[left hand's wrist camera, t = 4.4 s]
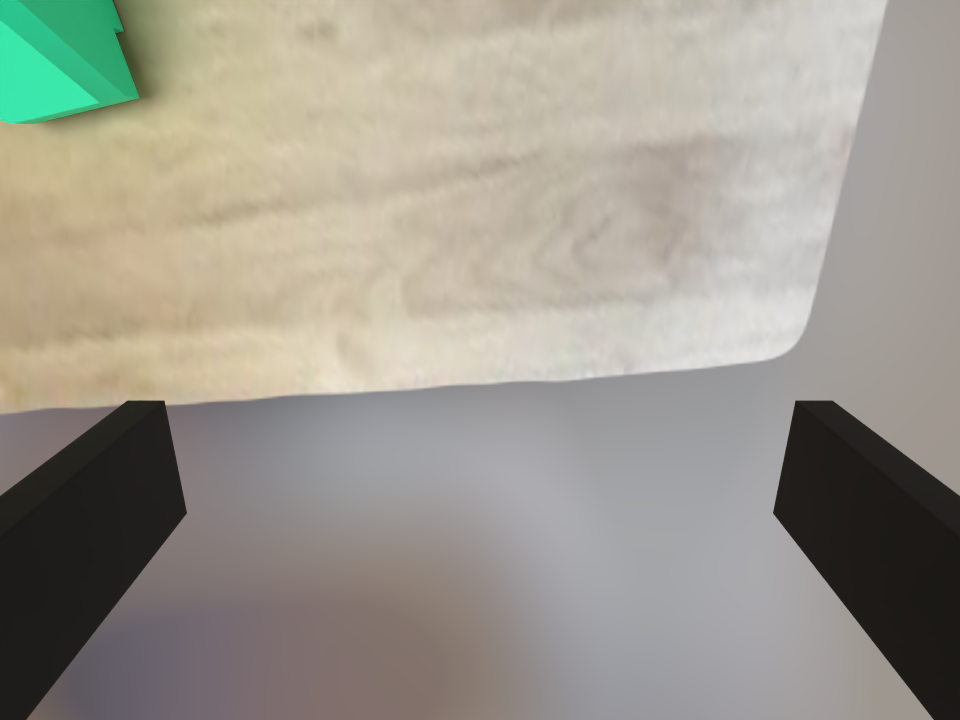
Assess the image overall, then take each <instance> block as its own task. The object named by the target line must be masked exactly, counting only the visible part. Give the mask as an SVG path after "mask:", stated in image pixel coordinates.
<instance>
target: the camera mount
mask: <svg viewBox="0 0 960 720" xmlns="http://www.w3.org/2000/svg"><path fill="white" fill-rule="evenodd" d="M122 31H124V30H123V27H122V24H121V22H120V19H119V16H118V14H117V11H116V8H115V6H114V3H113V0H0V120H2V121H4V122H7V123H15V124H35V123H40V122H44V121H48V120H52V119H56V118H60V117H64V116H68V115H72V114H76V113H81V112H85V111H89V110H93V109H97V108H101V107H105V106H109V105H113V104H118V103H122V102H126V101H130V100H134V99H138V98H139V95H138V92H137V90H136V87H135V84H134V82H133V79H132V76H131V74H130V71H129V69H128V66H127V63H126V61H125V58H124V55H123V53H122V50H121V47H120V45H119V42H118V39H117V37H116V34H115V33H118V32H122Z"/></svg>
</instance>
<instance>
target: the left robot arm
mask: <svg viewBox="0 0 960 720" xmlns="http://www.w3.org/2000/svg"><path fill="white" fill-rule="evenodd" d="M186 514H187V511H186V506H185V501H184V496H183V491H182V486H181V481H180V476H179V471H178V466H177V461H176V456H175V451H174V446H173V441H172V436H171V431H170V426H169V421H168V416H167V411H166V406H165V401H126V402H125V403H124V404H122V405H121V406H120V407H118V408H117V409H116V410H114V411H113V412H112V413H110V414H109V415H108V416H106V417H105V418H104V419H102V420H101V421H100V422H98V423H97V424H96V425H94V426H93V427H92V428H90V429H89V430H88V431H86V432H85V433H84V434H82V435H81V436H80V437H78V438H77V439H76V440H74V441H73V442H72V443H70V444H69V445H68V446H66V447H65V448H64V449H62V450H61V451H60V452H58V453H57V454H56V455H54V456H53V457H52V458H50V459H49V460H48V461H46V462H45V463H44V464H42V465H41V466H40V467H38V468H37V469H36V470H34V471H33V472H32V473H30V474H29V475H28V476H26V477H25V478H24V479H22V480H21V481H20V482H18V483H17V484H16V485H14V486H13V487H12V488H10V489H9V490H8V491H6V492H5V493H4V494H2V495H1V496H0V720H26V719H27V718H28V717H29V715H30V714H31V713H32V712H33V710H34V709H35V708H36V706H37V705H38V704H39V703H40V701H41V700H42V699H43V697H44V696H45V695H46V694H47V692H48V691H49V690H50V688H51V687H52V686H53V685H54V683H55V682H56V681H57V679H58V678H59V677H60V676H61V674H62V673H63V672H64V670H65V669H66V668H67V667H68V665H69V664H70V663H71V661H72V660H73V659H74V658H75V656H76V655H77V654H78V652H79V651H80V650H81V649H82V647H83V646H84V645H85V643H86V642H87V641H88V640H89V638H90V637H91V636H92V634H93V633H94V632H95V631H96V629H97V628H98V627H99V625H100V624H101V623H102V622H103V620H104V619H105V618H106V616H107V615H108V614H109V613H110V611H111V610H112V609H113V607H114V606H115V605H116V604H117V602H118V601H119V600H120V598H121V597H122V596H123V595H124V593H125V592H126V591H127V589H128V588H129V587H130V586H131V584H132V583H133V582H134V580H135V579H136V578H137V577H138V575H139V574H140V573H141V571H142V570H143V569H144V568H145V566H146V565H147V564H148V562H149V561H150V560H151V559H152V557H153V556H154V555H155V554H156V552H157V551H158V550H159V548H160V547H161V546H162V545H163V543H164V542H165V541H166V539H167V538H168V537H169V536H170V534H171V533H172V532H173V530H174V529H175V528H176V527H177V525H178V524H179V523H180V521H181V520H182V519H183V517H184V516H185V515H186ZM773 514H774V515H775V516H776V518H777V519H778V520H779V521H780V523H781V524H782V525H783V527H784V528H785V529H786V530H787V532H788V533H789V534H790V536H791V537H792V538H793V539H794V541H795V542H796V543H797V545H798V546H799V547H800V548H801V550H802V551H803V552H804V554H805V555H806V556H807V557H808V559H809V560H810V561H811V562H812V564H813V565H814V566H815V568H816V569H817V570H818V571H819V573H820V574H821V575H822V577H823V578H824V579H825V580H826V582H827V583H828V584H829V586H830V587H831V588H832V589H833V591H834V592H835V593H836V595H837V596H838V597H839V598H840V600H841V601H842V602H843V604H844V605H845V606H846V607H847V609H848V610H849V611H850V613H851V614H852V615H853V616H854V618H855V619H856V620H857V622H858V623H859V624H860V625H861V627H862V628H863V629H864V631H865V632H866V633H867V634H868V636H869V637H870V638H871V640H872V641H873V642H874V643H875V645H876V646H877V647H878V648H879V650H880V651H881V652H882V654H883V655H884V656H885V658H886V659H887V660H888V661H889V663H890V664H891V665H892V667H893V668H894V669H895V670H896V672H897V673H898V674H899V676H900V677H901V678H902V679H903V681H904V682H905V683H906V685H907V686H908V687H909V688H910V690H911V691H912V692H913V694H914V695H915V696H916V697H917V699H918V700H919V701H920V703H921V704H922V705H923V706H924V708H925V709H926V710H927V712H928V713H929V714H930V715H931V717H932V718H933V719H934V720H960V496H959V495H958V494H956V493H955V492H954V491H952V490H951V489H950V488H948V487H947V486H946V485H944V484H943V483H942V482H940V481H939V480H938V479H936V478H935V477H934V476H932V475H931V474H930V473H928V472H927V471H926V470H924V469H923V468H922V467H920V466H919V465H918V464H916V463H915V462H914V461H912V460H911V459H910V458H908V457H907V456H906V455H904V454H903V453H902V452H900V451H899V450H898V449H896V448H895V447H894V446H892V445H891V444H890V443H888V442H887V441H886V440H884V439H883V438H882V437H880V436H879V435H878V434H876V433H875V432H874V431H872V430H871V429H870V428H868V427H867V426H866V425H864V424H863V423H862V422H860V421H859V420H858V419H856V418H855V417H854V416H852V415H851V414H850V413H848V412H847V411H846V410H844V409H843V408H842V407H840V406H839V405H838V404H836V403H835V402H834V401H795V406H794V411H793V416H792V421H791V426H790V431H789V436H788V441H787V446H786V451H785V456H784V461H783V466H782V471H781V476H780V481H779V486H778V491H777V496H776V501H775V506H774V511H773Z"/></svg>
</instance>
